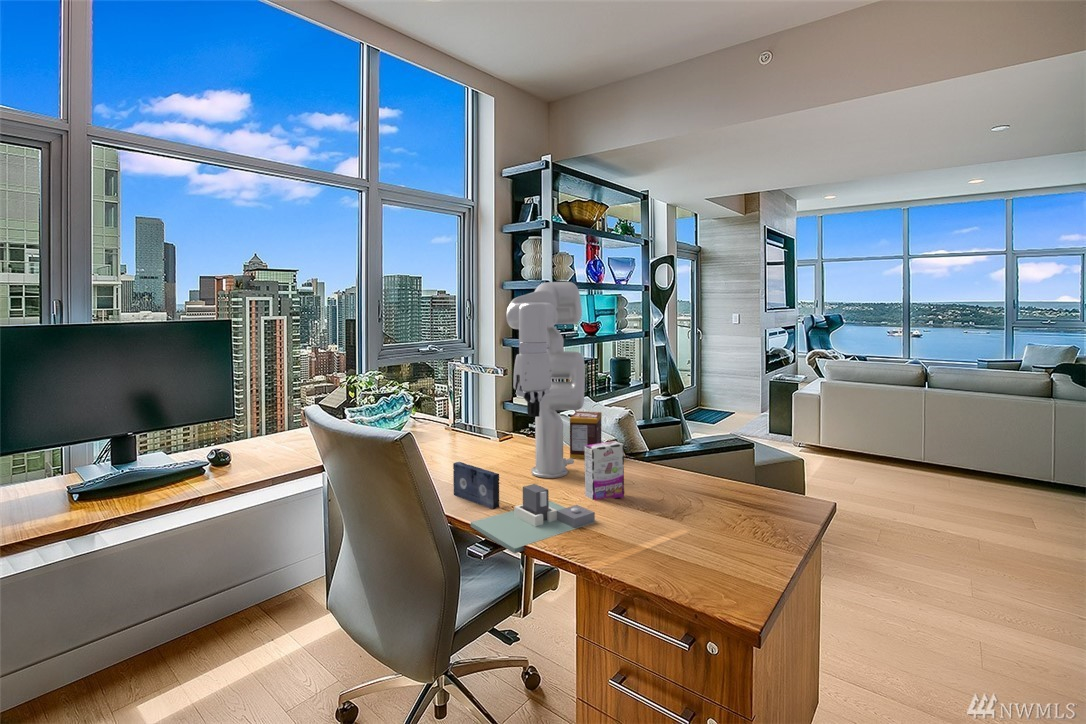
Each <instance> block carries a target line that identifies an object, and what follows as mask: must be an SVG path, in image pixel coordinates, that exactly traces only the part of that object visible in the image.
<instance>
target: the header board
mask: <svg viewBox="0 0 1086 724" xmlns="http://www.w3.org/2000/svg"><path fill="white" fill-rule="evenodd" d="M564 508H566V507H565V506H564V505H560V504H558V503H556V502H553V501H551V500H549V511H548V512H547V520H545V521H543V514H538V515H534V514H532V513H530V512H528V511H526V510H524V509H523V503H522V504H519V505H515V506H514V507H513V509H514V510H510V511H507V512H503V513H500V514H495V515H491V516H487V517H484V518H481V519H477V520H473V521H470V527H471V528H473V530H475V531H477V532H479V533H480V534H482V535H483V536H485V537H487V538H489V540H492V541H493V542H495V543H497V544H498V545H500V546H502V547H503V548H505V549H506V550H508V551H509V552H511V553H513V554H518V553H522V552H524V551H526V550H528V549H527V548H525V547H524V546H527V545H531V544H534V543H537V542H540V541H543V540H545V539H549V538H553V537H555V536H558V535H561V534H563V533H564V534H565V533H567V532H570V531H573V530H576V529H579V528H582V527H586V526H588V525H591V524H595V523H598V520H595V521H594V522H591V523H588V524H585V525H582V526H579V527H576V528H573V527H571V526H569V525H567V524H565V523H563V522H560V521H558V520H557V511H558V510H561V509H564Z"/></svg>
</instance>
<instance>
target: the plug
mask: <svg viewBox="0 0 1086 724" xmlns="http://www.w3.org/2000/svg"><path fill="white" fill-rule="evenodd" d="M549 493H550V492H549V488H546V487H544V486H541V485H538V484H536V483H533V484H528V485H524V486H522V504H523V509H524V510H526V511H528V512H530V513H532V514H534V515H538V514H543V521H545V520H547V512H548V511H549V501H550V499H549V497H550V496H549Z"/></svg>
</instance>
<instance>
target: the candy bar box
mask: <svg viewBox="0 0 1086 724" xmlns="http://www.w3.org/2000/svg"><path fill="white" fill-rule="evenodd" d="M624 448H625V445H624V443H622V442H620V441H617V440H612V441H607V442H606V441H605V442H601V443H598V444H592V445H585V459H584V495H585V497H587V498H589V499H591V500H592V501H593V500H601V499H605V498H612V499H615V500H617V499H618V500H619V499H622V498H624V497H625V453H624V451H625V449H624Z"/></svg>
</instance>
